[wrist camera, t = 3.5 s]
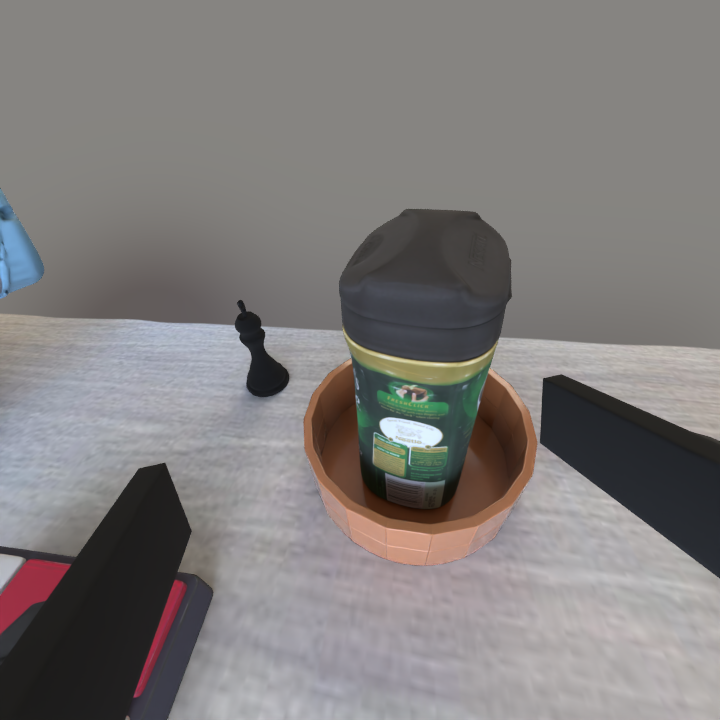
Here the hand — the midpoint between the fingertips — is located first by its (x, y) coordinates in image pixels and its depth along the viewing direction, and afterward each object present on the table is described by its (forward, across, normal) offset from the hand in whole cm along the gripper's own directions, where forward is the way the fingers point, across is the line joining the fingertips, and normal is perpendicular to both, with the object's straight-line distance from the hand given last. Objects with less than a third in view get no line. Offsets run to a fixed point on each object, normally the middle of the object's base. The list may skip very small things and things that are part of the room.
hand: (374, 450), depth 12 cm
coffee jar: (+13, +5, -10) cm, 17 cm away
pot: (+13, +5, -10) cm, 17 cm away
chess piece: (+24, -6, -6) cm, 26 cm away
